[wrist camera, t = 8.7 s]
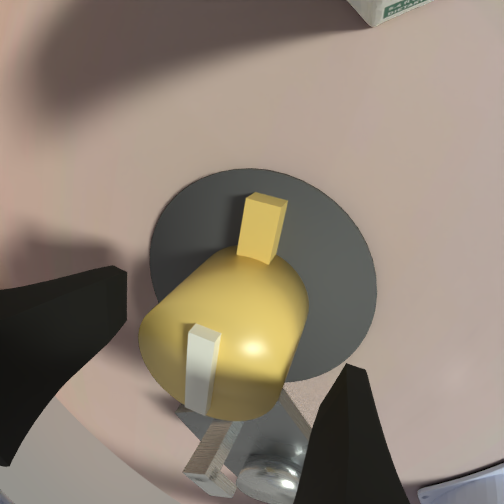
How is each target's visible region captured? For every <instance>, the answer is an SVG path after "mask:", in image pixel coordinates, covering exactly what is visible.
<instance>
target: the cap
mask: <svg viewBox="0 0 504 504" xmlns="http://www.w3.org/2000/svg"><path fill="white" fill-rule="evenodd" d="M287 203H288V200H284V199H280V198H276V197H273V196H269V195H265V194H261V193H257V192H255V193H253V194H252V195H250V196H248V197H247V198H246V201H245V207H244V212H243V218H242V224H241V230H240V236H239V242H238V245H236V246H230V247H227V248H224V249H222V250H219V251H217V252H216V253H215V254H213V255H212V256H211V257H209V258H208V259H207V260H206V261H205V262H204V263H203V264H202V265H201V266H199V267H198V268H197V269H196V270H195V271H194V272H193V273H192V274H191V275H189V276H188V277H187V278H186V279H185V280H184V281H183V282H182V283H181V284H180V285H178V286H177V287H176V288H175V289H174V290H173V291H172V292H171V293H170V294H169V295H167V296H166V297H165V298H164V299H163V300H162V301H161V302H160V303H159V304H158V305H157V306H155V307H154V308H153V309H152V310H151V311H150V312H149V313H148V314H147V315H146V316H145V318H144V319H143V321H142V323H141V325H140V328H139V334H138V342H139V348H140V352H141V355H142V358H143V360H144V363H145V364H146V366H147V368H148V370H149V371H150V373H151V374H152V376H153V377H154V378H155V380H156V381H157V382H158V383H159V384H160V386H161V387H162V388H163V389H164V390H165V391H167V392H168V393H169V394H170V395H171V396H172V397H174V398H175V399H176V400H178V401H179V402H180V403H182V404H183V405H185V407H186V408H188V409H190V410H192V411H195V412H197V413H199V414H202V415H204V416H205V415H206V416H209V417H212V418H216V419H220V420H226V421H247V420H252V419H255V418H258V417H261V416H263V415H264V414H266V413H267V412H269V411H270V410H271V409H272V408H273V407H274V405H275V404H276V402H277V400H278V398H279V396H280V393H281V391H282V388H283V385H284V383H285V380H286V377H287V374H288V372H289V369H290V366H291V363H292V361H293V358H294V355H295V352H296V349H297V346H298V344H299V341H300V338H301V335H302V332H303V329H304V326H305V323H306V320H307V316H308V311H309V299H308V294H307V291H306V288H305V285H304V283H303V281H302V280H301V278H300V276H299V275H298V273H297V272H296V271H295V270H294V269H293V267H292V266H291V265H290V264H288V263H287V262H286V261H285V260H284V259H282V258H281V257H279V256H278V255H276V253H277V248H278V244H279V239H280V235H281V231H282V226H283V222H284V217H285V212H286V208H287Z"/></svg>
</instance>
